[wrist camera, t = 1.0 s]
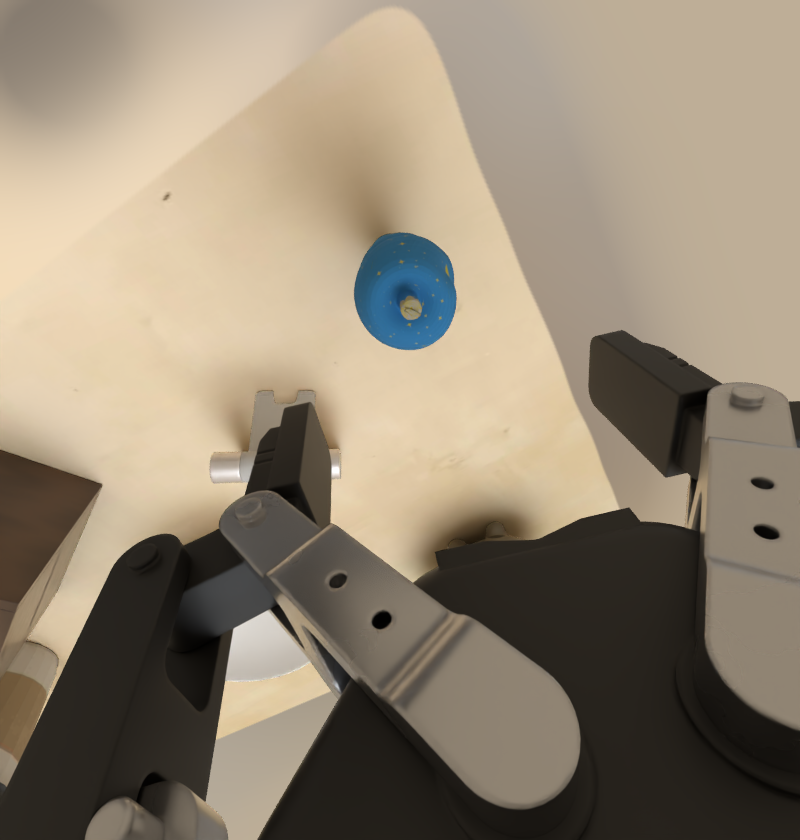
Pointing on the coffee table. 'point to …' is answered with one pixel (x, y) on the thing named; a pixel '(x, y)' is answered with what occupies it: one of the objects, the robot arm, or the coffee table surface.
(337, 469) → the tablet stand
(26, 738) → the coffee cup
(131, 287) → the coffee table surface
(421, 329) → the ornament
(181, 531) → the coffee table surface
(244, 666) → the bowl
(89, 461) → the coffee table surface
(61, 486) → the wooden drawer cabinet
